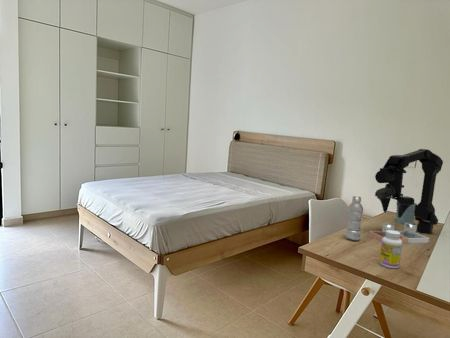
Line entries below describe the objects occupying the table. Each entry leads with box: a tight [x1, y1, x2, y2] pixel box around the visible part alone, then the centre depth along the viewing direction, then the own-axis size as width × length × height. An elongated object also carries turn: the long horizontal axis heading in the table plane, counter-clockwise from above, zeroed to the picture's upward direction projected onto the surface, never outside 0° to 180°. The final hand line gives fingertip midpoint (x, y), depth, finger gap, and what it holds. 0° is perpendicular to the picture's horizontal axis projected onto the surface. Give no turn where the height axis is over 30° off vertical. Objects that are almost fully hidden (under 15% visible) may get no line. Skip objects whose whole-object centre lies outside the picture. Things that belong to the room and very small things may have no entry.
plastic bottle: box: [345, 196, 364, 241], centre depth 143 cm, size 6×7×20 cm
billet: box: [403, 223, 418, 238], centre depth 147 cm, size 5×5×7 cm
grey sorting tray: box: [367, 230, 431, 245], centre depth 146 cm, size 24×12×3 cm, turn 103°
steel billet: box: [381, 222, 396, 237], centre depth 145 cm, size 5×5×7 cm
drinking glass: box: [396, 201, 418, 225], centre depth 181 cm, size 10×10×12 cm
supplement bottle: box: [379, 230, 403, 269], centre depth 116 cm, size 7×7×13 cm
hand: (392, 214), depth 149 cm, fingers open, 9 cm apart
